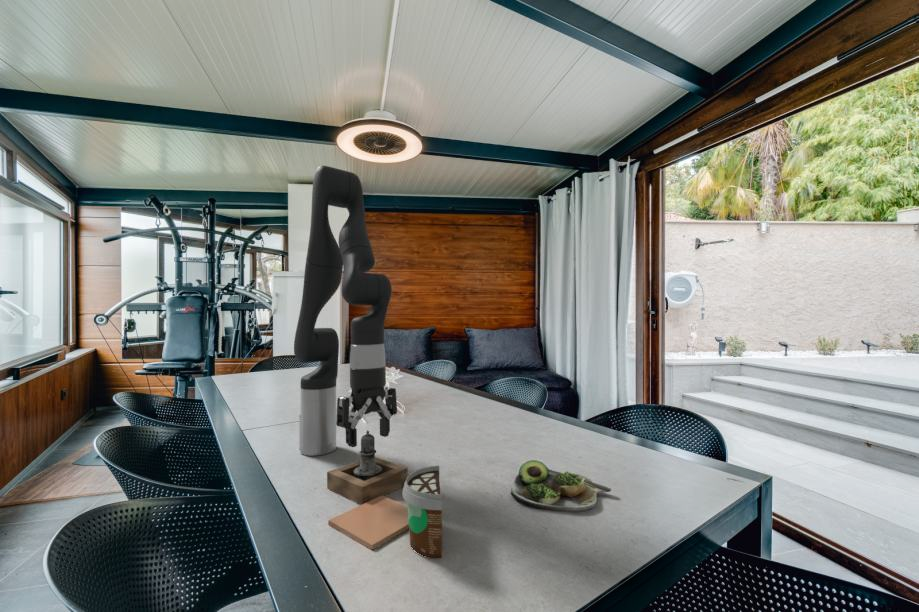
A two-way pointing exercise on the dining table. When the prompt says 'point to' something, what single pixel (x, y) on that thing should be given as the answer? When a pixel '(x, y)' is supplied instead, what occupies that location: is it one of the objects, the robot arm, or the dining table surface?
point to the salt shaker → (367, 459)
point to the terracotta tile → (373, 521)
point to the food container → (424, 511)
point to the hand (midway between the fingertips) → (368, 440)
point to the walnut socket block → (370, 489)
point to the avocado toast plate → (553, 488)
